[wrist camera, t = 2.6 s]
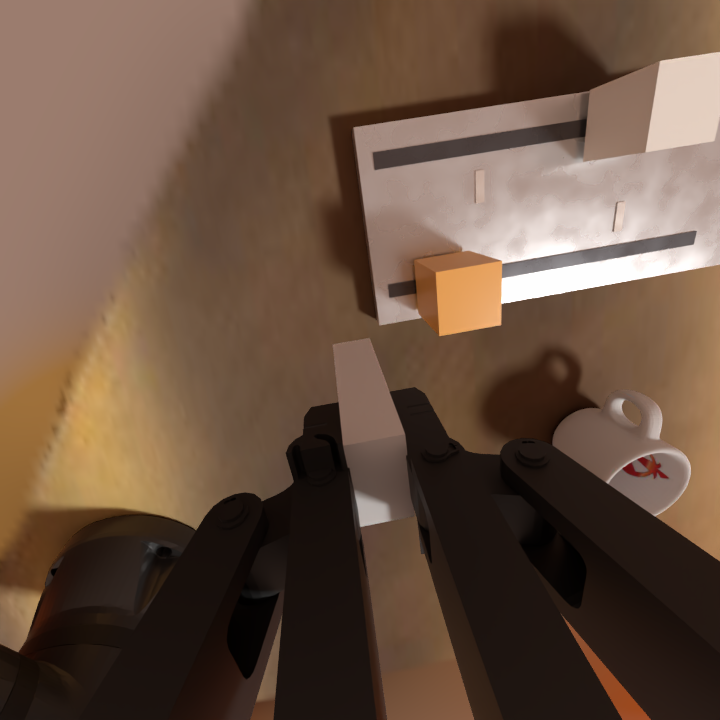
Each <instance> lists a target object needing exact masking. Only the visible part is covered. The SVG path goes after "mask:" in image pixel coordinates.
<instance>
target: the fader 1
mask: <svg viewBox="0 0 720 720" xmlns="http://www.w3.org/2000/svg"><path fill="white" fill-rule="evenodd" d="M414 265H415V277H416V289H417V301H418V313H419V315H420V316H421V317H422V318H423V319H424V320H425V321H426V322H427V323H428V324H429V325H430V327H431V328H432V329H433V330H434V331H435V332H436V333H437V334H438V335H439V336H443V335H449V334H454V333H460V332H465V331H471V330H476V329H482V328H487V327H493V326H498V325H501V299H502V261H501V260H498V259H495V258H491V257H488V256H485V255H482V254H478V253H475V252H472V251H464V252H458V253H452V254H446V255H440V256H434V257H429V258H423V259H417V260H414Z"/></svg>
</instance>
